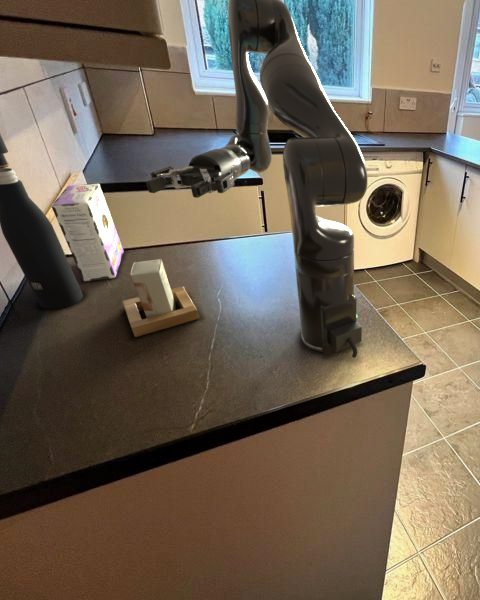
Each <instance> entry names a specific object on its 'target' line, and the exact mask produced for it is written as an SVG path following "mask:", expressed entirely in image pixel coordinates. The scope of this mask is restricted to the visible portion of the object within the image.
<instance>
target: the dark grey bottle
mask: <svg viewBox="0 0 480 600" xmlns="http://www.w3.org/2000/svg"><path fill="white" fill-rule="evenodd" d="M8 153H9V150H8V148H7V145H6V144H5V141H4V139H3V136H2V135H1V133H0V230H1V232H2V235H3V237H4V239H5V241H6V243H7V245H8V247H9V248H10V250H11V252H12V254H13V257H14V258H15V260H16V262H17V264H18V265H19V267H20V269H21V271H22V273H23V275H24V277H25V280H26V282H27V283H28V285H29V287H30V289H31V290H32V293H33V294H34V296H35V298H36V300H37V302H38V304H39V305H40V307H41V308H43V309H46V310H57V309H62V308H67V307H70V306H73V305H74V304H76V303H78V302H80V301H81V300H82V299H83V297H84V295H83V292H82V290H81V287H80V285H79V282H78V280H77V278H76V276H75V273H74V272H73V269H72V267H71V265H70V262H69V260H68V258H67V256H66V253H65V251H64V249H63V247H62V244H61V242H60V240H59V237H58V235H57V232H56V231H55V229H54V226H53V224H52V222H51V221H50V219H49V218H48V217H47V216H46V214H45V213H44V212H43V210H42V209H41V208H40V207H39V206H38V205H37V204H36V203H35V202H34V201H33V200H32V198H30V197H29V194H28V192H27V190H26V188H25V186H24V183H23V181H22V180H20V179H19V176H17V175H16V174H17V172H16V171H15V170H14V169H13V168H10V164H9V162H8V161H7V159H6V157H5V155H4V154H8Z"/></svg>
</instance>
